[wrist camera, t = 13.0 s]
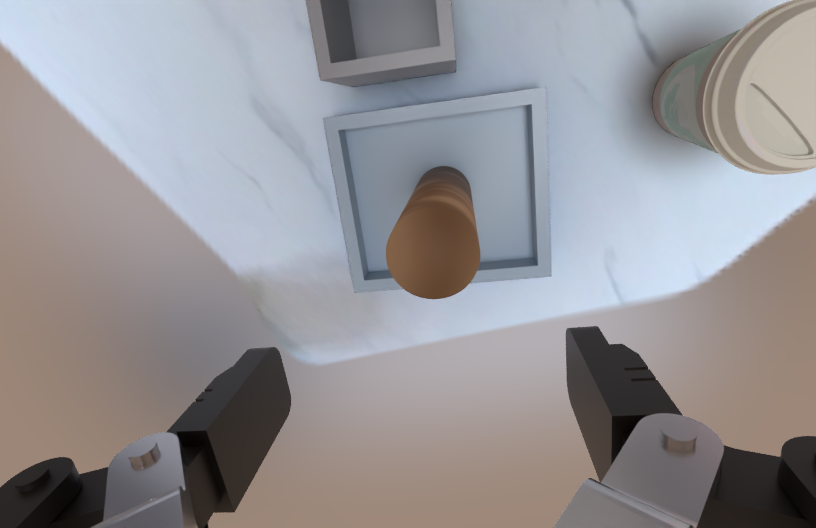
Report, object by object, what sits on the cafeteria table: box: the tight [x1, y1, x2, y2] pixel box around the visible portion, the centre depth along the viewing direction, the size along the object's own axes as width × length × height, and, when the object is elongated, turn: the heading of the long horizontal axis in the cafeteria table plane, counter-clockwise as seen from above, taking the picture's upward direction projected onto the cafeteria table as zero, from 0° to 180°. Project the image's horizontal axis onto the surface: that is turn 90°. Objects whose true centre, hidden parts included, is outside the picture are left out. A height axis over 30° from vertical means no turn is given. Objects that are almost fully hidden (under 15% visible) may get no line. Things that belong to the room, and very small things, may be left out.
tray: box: [323, 87, 551, 293], centre depth 35 cm, size 16×14×3 cm
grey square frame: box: [306, 0, 456, 87], centre depth 29 cm, size 8×8×9 cm
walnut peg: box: [386, 166, 480, 299], centre depth 28 cm, size 4×4×16 cm
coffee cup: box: [652, 0, 816, 174], centre depth 27 cm, size 8×8×12 cm
